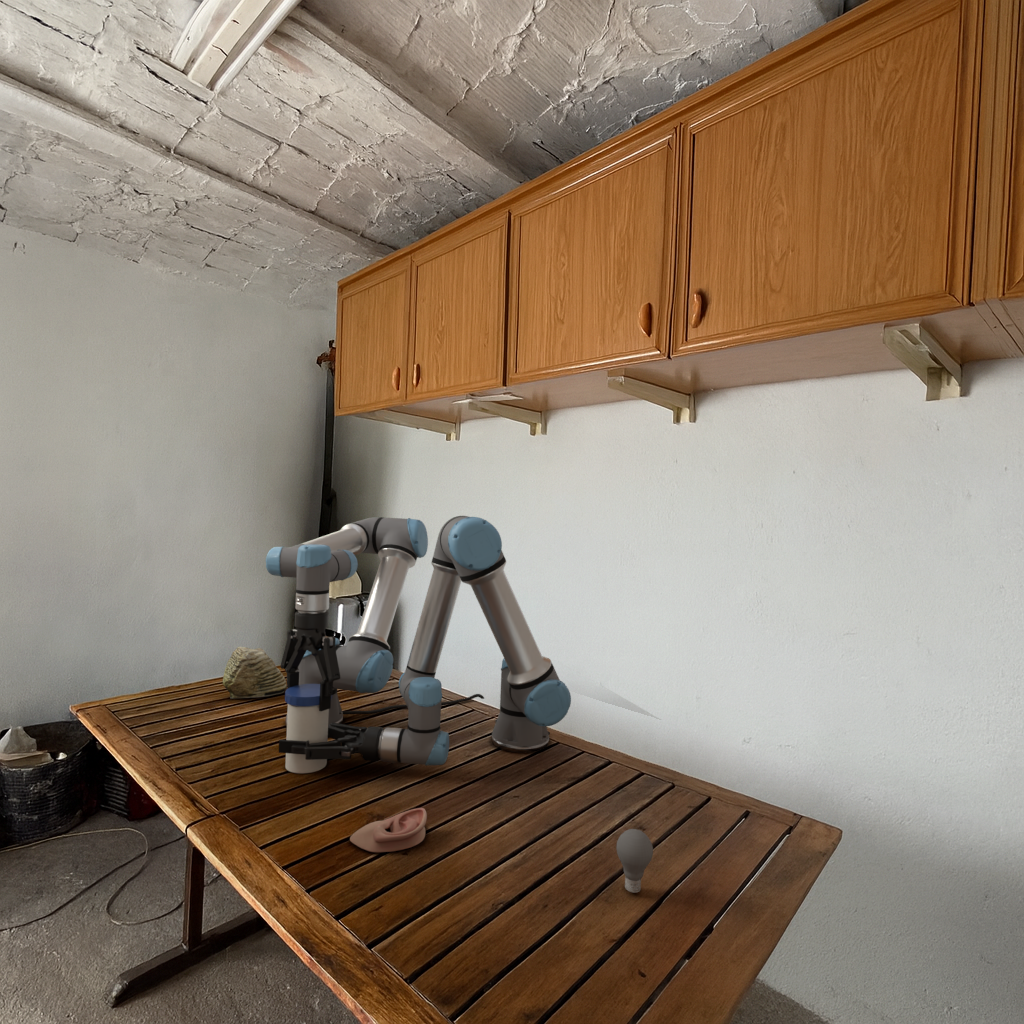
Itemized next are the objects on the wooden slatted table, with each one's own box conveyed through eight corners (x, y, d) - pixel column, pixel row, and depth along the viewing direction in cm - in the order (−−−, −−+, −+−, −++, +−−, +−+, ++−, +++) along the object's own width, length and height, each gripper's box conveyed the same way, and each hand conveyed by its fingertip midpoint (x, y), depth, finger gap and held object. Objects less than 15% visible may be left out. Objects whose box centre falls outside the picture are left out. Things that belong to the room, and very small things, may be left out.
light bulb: (610, 879, 108) (613, 822, 108) (644, 879, 109) (647, 822, 109) (619, 902, 102) (622, 840, 102) (655, 901, 103) (658, 840, 103)
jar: (284, 759, 151) (286, 688, 151) (324, 754, 155) (326, 685, 155) (286, 775, 143) (289, 700, 143) (329, 770, 147) (331, 697, 146)
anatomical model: (342, 825, 115) (369, 797, 126) (341, 847, 115) (368, 817, 126) (412, 836, 112) (433, 806, 123) (411, 859, 112) (432, 826, 123)
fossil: (218, 695, 195) (220, 647, 195) (278, 685, 208) (279, 640, 207) (228, 703, 189) (230, 653, 188) (289, 692, 201) (290, 645, 201)
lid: (278, 705, 143) (278, 696, 143) (292, 691, 154) (292, 683, 154) (325, 707, 144) (326, 698, 144) (336, 692, 154) (336, 684, 154)
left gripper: (266, 606, 151) (263, 698, 152) (334, 619, 139) (330, 719, 140) (292, 602, 158) (289, 691, 158) (359, 615, 146) (355, 710, 146)
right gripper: (367, 781, 137) (267, 773, 138) (393, 742, 159) (306, 736, 160) (369, 746, 137) (268, 739, 138) (394, 712, 159) (307, 707, 160)
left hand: (308, 704), depth 149 cm, fingers closed on lid, 10 cm apart
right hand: (288, 737), depth 149 cm, fingers closed on jar, 9 cm apart
